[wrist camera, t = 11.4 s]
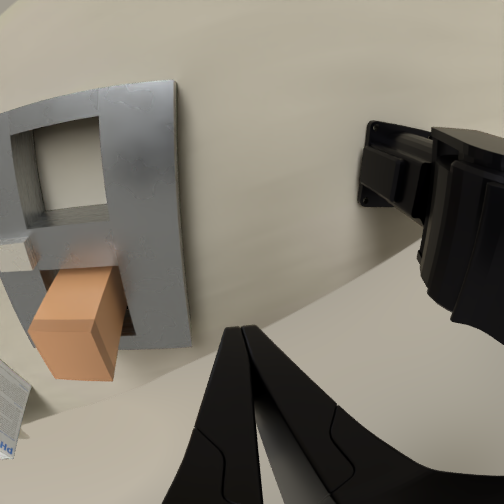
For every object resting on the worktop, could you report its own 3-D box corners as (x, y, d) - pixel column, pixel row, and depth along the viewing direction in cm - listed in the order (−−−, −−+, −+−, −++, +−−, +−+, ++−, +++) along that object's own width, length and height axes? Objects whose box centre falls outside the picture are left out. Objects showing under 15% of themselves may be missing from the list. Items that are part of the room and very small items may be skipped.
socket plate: (176, 82, 15) (172, 78, 12) (190, 320, 24) (192, 354, 21) (-11, 120, 13) (-42, 129, 10) (43, 324, 22) (31, 354, 18)
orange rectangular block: (117, 253, 20) (90, 332, 13) (127, 300, 22) (113, 381, 15) (67, 257, 19) (27, 331, 12) (81, 301, 21) (55, 378, 15)
